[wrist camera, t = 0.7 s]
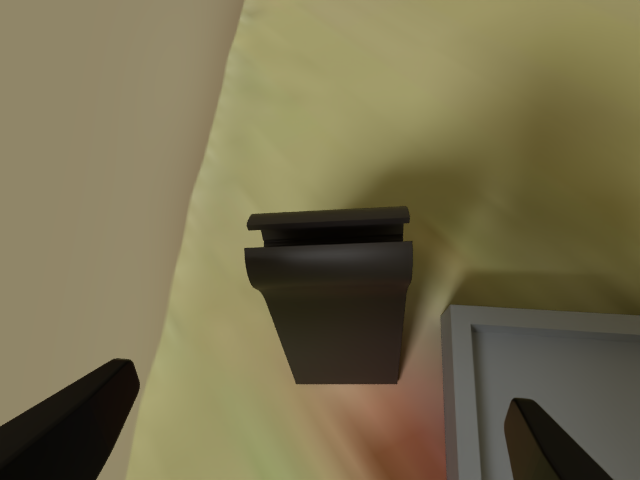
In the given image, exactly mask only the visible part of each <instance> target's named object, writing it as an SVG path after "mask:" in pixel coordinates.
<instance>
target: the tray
mask: <svg viewBox="0 0 640 480" xmlns="http://www.w3.org/2000/svg"><path fill="white" fill-rule="evenodd" d="M441 339H442V365H443V391H444V417H445V443H446V469H447V480H513V475H512V470H511V465H510V459H509V454H508V449H507V444H506V439H505V434H504V421H505V418H506V415H507V411H508V408H509V405H510V402H511V400H512V399H513V398H516V397H517V398H527V399H532V400H534V401H535V402H537V403H538V404H539V405H540V406H541V407H542V408H543V409H544V410H545V411H546V412H547V413H548V414H549V415H550V416H551V417H552V418H553V419H554V420H555V421H556V422H557V423H558V424H559V425H560V426H561V427H562V428H563V429H564V430H565V431H566V432H567V433H568V434H569V435H570V436H571V437H572V438H573V439H574V440H575V441H576V442H577V443H578V444H579V445H580V446H581V447H582V448H583V449H584V450H585V451H586V452H587V453H588V454H589V455H590V456H591V457H592V458H593V459H594V460H595V461H596V462H597V463H598V464H599V465H600V466H601V467H602V468H603V469H604V470H605V471H606V472H607V473H608V474H609V475H610V476H611V477H612V478H613V479H614V480H640V315H623V314H606V313H589V312H571V311H554V310H537V309H519V308H502V307H485V306H467V305H449V307H448V308H447V309H446V310H445V312H444V313H443V314H442V315H441Z"/></svg>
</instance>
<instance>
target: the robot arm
mask: <svg viewBox="0 0 640 480" xmlns="http://www.w3.org/2000/svg"><path fill="white" fill-rule="evenodd" d="M139 388H140V382H139V379H138V376H137V372H136V369H135V366H134V363H133V362H132V361H131V360H129V359H120V358H116V359H113V360H111V361H109V362H108V363H106V364H104V365H102V366H101V367H99V368H97V369H96V370H94V371H92V372H91V373H89V374H87V375H86V376H84V377H82V378H81V379H79V380H77V381H76V382H74V383H72V384H71V385H69V386H67V387H66V388H64V389H62V390H61V391H59V392H57V393H56V394H54V395H52V396H51V397H49V398H47V399H45V400H44V401H42V402H41V403H39V404H37V405H35V406H34V407H32V408H30V409H29V410H27V411H25V412H24V413H22V414H20V415H19V416H17V417H15V418H14V419H12V420H10V421H9V422H7V423H5V424H4V425H2V426H0V480H96V479H97V477H98V475H99V474H100V472H101V470H102V468H103V466H104V465H105V463H106V461H107V459H108V457H109V456H110V454H111V452H112V450H113V448H114V445H115V443H116V441H117V439H118V437H119V435H120V432H121V430H122V428H123V426H124V423H125V421H126V419H127V416H128V415H129V412H130V410H131V408H132V406H133V403H134V401H135V399H136V397H137V394H138V392H139ZM504 434H505V439H506V444H507V449H508V454H509V459H510V465H511V470H512V475H513V480H614V479H613V478H612V477H611V476H610V475H609V474H608V473H607V472H606V471H605V470H604V469H603V468H602V467H601V466H600V465H599V464H598V463H597V462H596V461H595V460H594V459H593V458H592V457H591V456H590V455H589V454H588V453H587V452H586V451H585V450H584V449H583V448H582V447H581V446H580V445H579V444H578V443H577V442H576V441H575V440H574V439H573V438H572V437H571V436H570V435H569V434H568V433H567V432H566V431H565V430H564V429H563V428H562V427H561V426H560V425H559V424H558V423H557V422H556V421H555V420H554V419H553V418H552V417H551V416H550V415H549V414H548V413H547V412H546V411H545V410H544V409H543V408H542V407H541V406H540V405H539V404H538V403H537V402H535V401H534V400H532V399H527V398H517V397H516V398H513V399H512V400H511V402H510V405H509V408H508V411H507V415H506V418H505V421H504Z"/></svg>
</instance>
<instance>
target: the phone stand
mask: <svg viewBox="0 0 640 480" xmlns="http://www.w3.org/2000/svg"><path fill="white" fill-rule="evenodd" d="M409 220H410V216H409V211H408V208H407V207H406V206H399V207H379V208H360V209H340V210H321V211H301V212H282V213H262V214H252V215H251V216H250V217H249V219H248V222H247V228H248V230H261V232H262V237H263V241H264V247H259V248H244V251H245V263H246V270H247V274H248V278H249V281H250V283H251V285H252V286H253V287H254V288H255V289H257V290H259V291H260V292H261V293H262V295H263V296H264V298H265V301H266V303H267V306H268V309H269V311H270V314H271V317H272V319H273V322H274V325H275V328H276V330H277V333H278V336H279V338H280V341H281V344H282V347H283V349H284V352H285V355H286V357H287V360H288V363H289V365H290V368H291V371H292V374H293V376H294V379H295V382H296V384H397V381H398V371H399V361H400V351H401V341H402V331H403V321H404V311H405V301H406V293H407V288H408V286H409V284H410V283H411V279H412V267H413V248H412V241H405V242H403V223H409Z"/></svg>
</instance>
